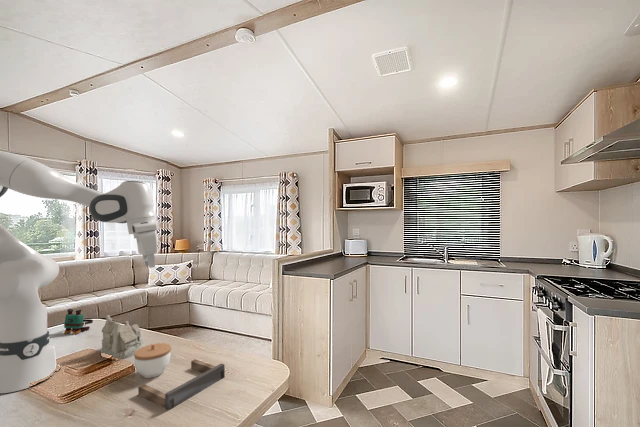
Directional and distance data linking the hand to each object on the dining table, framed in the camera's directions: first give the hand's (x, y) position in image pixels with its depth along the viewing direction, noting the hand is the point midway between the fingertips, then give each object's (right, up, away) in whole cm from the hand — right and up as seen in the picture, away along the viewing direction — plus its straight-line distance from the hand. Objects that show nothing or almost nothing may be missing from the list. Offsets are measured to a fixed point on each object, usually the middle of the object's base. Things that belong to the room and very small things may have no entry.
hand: (150, 266), depth 105 cm
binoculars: (-54, -36, +36) cm, 74 cm away
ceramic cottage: (-18, -36, +14) cm, 42 cm away
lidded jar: (+4, -35, -5) cm, 35 cm away
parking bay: (+17, -34, -12) cm, 40 cm away
